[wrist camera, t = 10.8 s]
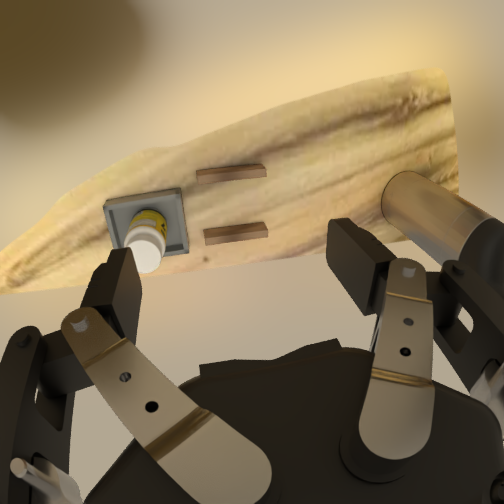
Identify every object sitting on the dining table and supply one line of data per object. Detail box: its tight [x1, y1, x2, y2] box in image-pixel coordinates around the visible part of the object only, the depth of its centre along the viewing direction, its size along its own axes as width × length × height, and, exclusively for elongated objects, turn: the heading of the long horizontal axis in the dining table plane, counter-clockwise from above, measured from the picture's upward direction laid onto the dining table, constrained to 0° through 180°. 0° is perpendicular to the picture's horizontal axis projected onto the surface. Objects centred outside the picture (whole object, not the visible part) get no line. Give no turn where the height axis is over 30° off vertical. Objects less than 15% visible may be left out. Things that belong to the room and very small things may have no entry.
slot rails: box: [197, 164, 268, 246], centre depth 37 cm, size 8×9×2 cm
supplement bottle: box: [124, 208, 167, 273], centre depth 33 cm, size 5×5×8 cm
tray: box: [103, 188, 189, 257], centre depth 37 cm, size 10×8×2 cm
